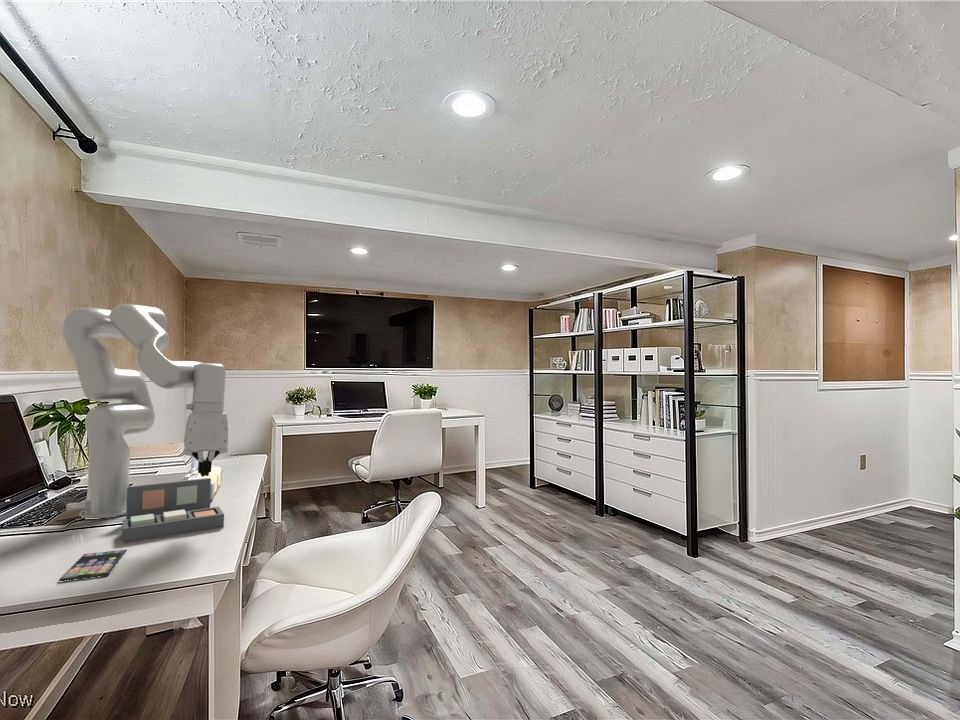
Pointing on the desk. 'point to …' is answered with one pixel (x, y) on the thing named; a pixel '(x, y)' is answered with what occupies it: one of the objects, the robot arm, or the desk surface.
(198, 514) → the key terracotta
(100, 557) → the smartphone
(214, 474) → the white yellow ridged block
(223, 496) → the desk surface
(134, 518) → the key sage
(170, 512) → the key cream
